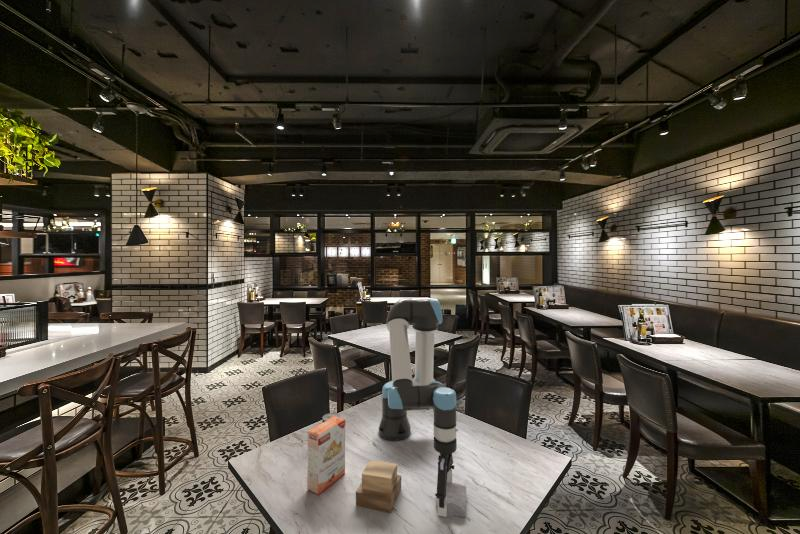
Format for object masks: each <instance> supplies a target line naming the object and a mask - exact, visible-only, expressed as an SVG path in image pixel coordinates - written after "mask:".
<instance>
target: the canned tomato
mask: <svg viewBox="0 0 800 534" xmlns="http://www.w3.org/2000/svg"><path fill="white" fill-rule="evenodd" d="M334 416H336V417H339V418H341V415H340V413H336V412H329V413H326V414H323V416H322V417H321V418H322V423H323V422H325V421H327V420H329V419H330V418H332V417H334Z"/></svg>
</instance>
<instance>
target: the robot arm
mask: <svg viewBox="0 0 800 534" xmlns="http://www.w3.org/2000/svg"><path fill="white" fill-rule="evenodd" d="M443 320H444V319H443V310H442V306H441V303H440V301H439V300H438V299H437V298H433V297H416V298H415V297H414V298H409V297H408V298H407V297H405V298H402V299H399V300H398V301H396V302H395V303H394V304H393V305H392V307H391V308H390V310H388V313H387V316H386V329H387V331H389V332H388V333H389V347H390V348H389V349H390V362H391V365H390V366H391V380H390V381H388V382H386V383H384V385H383V386H382V390H381V391H382V392H381V405H382V407H381V408H382V409H381V414H382V415H381V419H380V423H379V425H378V436H380V438H382V439H383V440H387V441H393V442H396V441H402V440H403V441H404V440H405V439H407V438H408V437H410V435H411V432H412V429H411V423H410V422H409V418H408V411H424V410H425V411H429V410H433V448H434V451H436V452H437V453H438V454H439V455H438V457H437V458H438V462H437V481H436V493H434V496H435V499H436V498H438V508H437V516H439V517H443V518H447V517H448V516H447V495H446V486H447V483H453V470H455V465H453V464H454V460H453V459H454V457H453V454H454V453H455V452H456V451H457V445H458V443H457V441H458V440H457V432H459V428H458V427H457V403H458V400H457V394H456V393H457V392H456V391H455V390H454V388H453V389H452V388H450V387H446V385H444V384H443V383H442V382H440V381H438V380H437V381H436V379H435V378H434V362H435V361H434V356H435V333H436V331H437V330H438V329H439V325H441V324H442V323H443ZM410 325H412V329H413V330H414V331H415V346H414V348H415V350H414V351H415V352H414V353H415V355H414V356H415V357H414V358H415V359H414V360H415V361H414V377H413V374H412V373H413V371H412V365H411V354H410V345H409V338H408V337H409V335H408V334H409V333H408V329H409V327H410Z"/></svg>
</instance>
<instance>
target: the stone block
mask: <svg viewBox="0 0 800 534" xmlns="http://www.w3.org/2000/svg"><path fill="white" fill-rule="evenodd" d="M446 495H447V517H457V518H458V517H461V518H465V517H466V515H467V514H466V513H467V486H466V485H463V484H460V483H456V482H452V483H447V486H446ZM435 500H436V501H435V503H436V508H437V509H438V498H436V497H435Z"/></svg>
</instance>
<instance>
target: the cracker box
mask: <svg viewBox="0 0 800 534" xmlns="http://www.w3.org/2000/svg"><path fill="white" fill-rule="evenodd" d="M345 474H346V419H345V418H341V417H340V418H339V417H336V416H334V417H332V418H330V419H329V420H327V421H325V422H322V423H320V424H318V425H316V426H314V427H313V428H311V429H309V430H307V481H306V482H307V490H309V491H310V492H312V493H314V494H316V495H320V494H321V493H322V492H324V491H325V490H326V489H328V487H330V486H331V485H332V484H334V483H335V482H336V481H338V479H340V478H341V477H342V476H344V475H345Z"/></svg>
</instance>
